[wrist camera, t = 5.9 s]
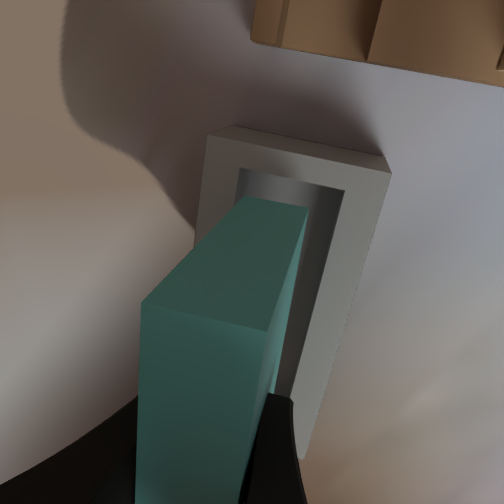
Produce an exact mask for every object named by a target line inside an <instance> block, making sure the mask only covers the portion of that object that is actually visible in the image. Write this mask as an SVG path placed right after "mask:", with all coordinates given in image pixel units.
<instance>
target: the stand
mask: <svg viewBox="0 0 504 504" xmlns="http://www.w3.org/2000/svg"><path fill="white" fill-rule="evenodd" d="M391 175H392V173H391V170H390V168H389V165H388V163H387V161H386V158H385V157H383V156H378V155H373V154H368V153H363V152H359V151H354V150H349V149H344V148H339V147H334V146H329V145H325V144H320V143H315V142H310V141H305V140H300V139H295V138H291V137H286V136H281V135H276V134H271V133H266V132H262V131H257V130H252V129H247V128H242V127H237V126H232V125H231V126H229V127H226V128H223V129H221V130H218V131H215V132H213V133H210V134H207V139H206V148H205V156H204V164H203V173H202V181H201V189H200V197H199V206H198V214H197V222H196V231H195V240H194V247H195V246H196V245H197V244H198V243H199V242H200V241H201V240H202V239H203V238H204V237H205V236H206V235H207V234H208V233H209V232H210V231H211V230H212V229H213V228H214V227H215V226H216V224H217V223H218V222H219V221H220V220H221V219H222V218H223V217H224V216H225V215H226V214H227V213H228V212H229V211H230V210H231V209H232V208H233V207H234V206H235V205H236V204H237V203H238V202H239V201H240V200H241V199H242V198H243V197H244V196H249V197H254V198H260V199H265V200H270V201H276V202H281V203H287V204H292V205H297V206H303V207H308V208H309V211H308V216H307V221H306V227H305V232H304V237H303V242H302V248H301V253H300V258H299V263H298V269H297V274H296V279H295V284H294V290H293V295H292V300H291V305H290V311H289V316H288V321H287V326H286V332H285V337H284V342H283V348H282V353H281V358H280V363H279V369H278V374H277V379H276V384H275V390H274V394H276V395H280V396H284V397H288V398H291V400H292V401H293V402H294V405H293V424H294V435H295V444H296V450H297V457H298V459H302V460H304V458H305V455H306V451H307V448H308V445H309V442H310V438H311V435H312V432H313V429H314V425H315V422H316V419H317V416H318V412H319V409H320V406H321V403H322V399H323V396H324V393H325V390H326V386H327V383H328V380H329V377H330V373H331V370H332V367H333V364H334V360H335V357H336V354H337V351H338V347H339V344H340V341H341V338H342V334H343V331H344V328H345V325H346V321H347V318H348V315H349V312H350V308H351V305H352V302H353V299H354V295H355V292H356V289H357V286H358V282H359V279H360V276H361V273H362V269H363V266H364V263H365V260H366V256H367V253H368V250H369V247H370V243H371V240H372V237H373V234H374V230H375V227H376V224H377V221H378V217H379V214H380V211H381V208H382V204H383V201H384V198H385V194H386V191H387V188H388V185H389V181H390V178H391Z"/></svg>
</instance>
